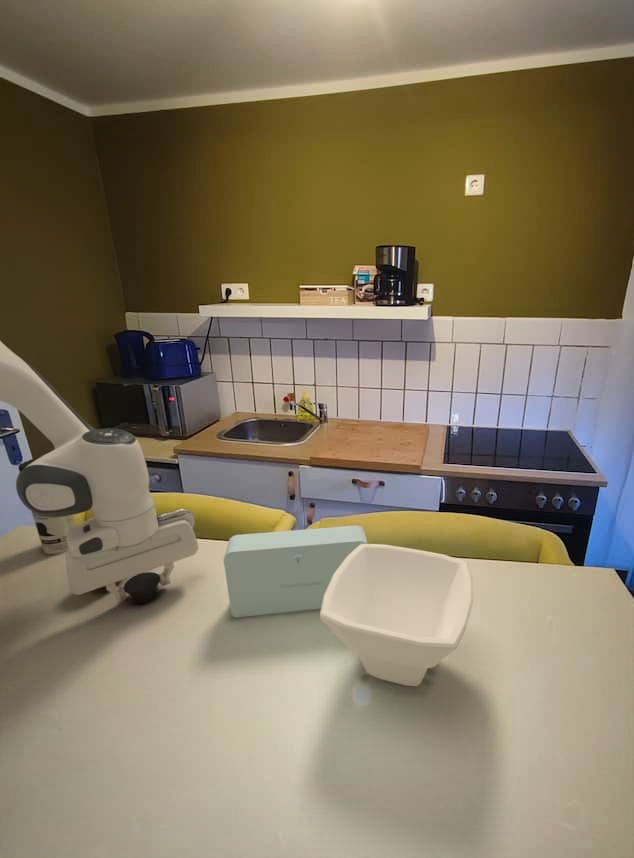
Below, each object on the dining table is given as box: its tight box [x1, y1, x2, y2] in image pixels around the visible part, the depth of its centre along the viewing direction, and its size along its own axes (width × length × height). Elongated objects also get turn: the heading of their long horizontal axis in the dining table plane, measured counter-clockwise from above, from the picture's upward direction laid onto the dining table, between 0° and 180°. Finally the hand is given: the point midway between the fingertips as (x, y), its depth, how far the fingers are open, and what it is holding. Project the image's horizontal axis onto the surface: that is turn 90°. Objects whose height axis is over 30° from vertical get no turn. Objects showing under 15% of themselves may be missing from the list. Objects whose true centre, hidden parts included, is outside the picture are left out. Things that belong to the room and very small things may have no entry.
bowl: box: [319, 543, 474, 687], centre depth 61 cm, size 19×19×14 cm
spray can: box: [17, 457, 77, 555], centre depth 90 cm, size 7×7×20 cm
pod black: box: [123, 571, 160, 606], centre depth 76 cm, size 6×6×4 cm
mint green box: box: [223, 524, 369, 618], centre depth 73 cm, size 23×6×13 cm, turn 98°
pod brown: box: [93, 580, 122, 593], centre depth 80 cm, size 6×6×4 cm
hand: (143, 591), depth 76 cm, fingers closed on pod black, 6 cm apart
